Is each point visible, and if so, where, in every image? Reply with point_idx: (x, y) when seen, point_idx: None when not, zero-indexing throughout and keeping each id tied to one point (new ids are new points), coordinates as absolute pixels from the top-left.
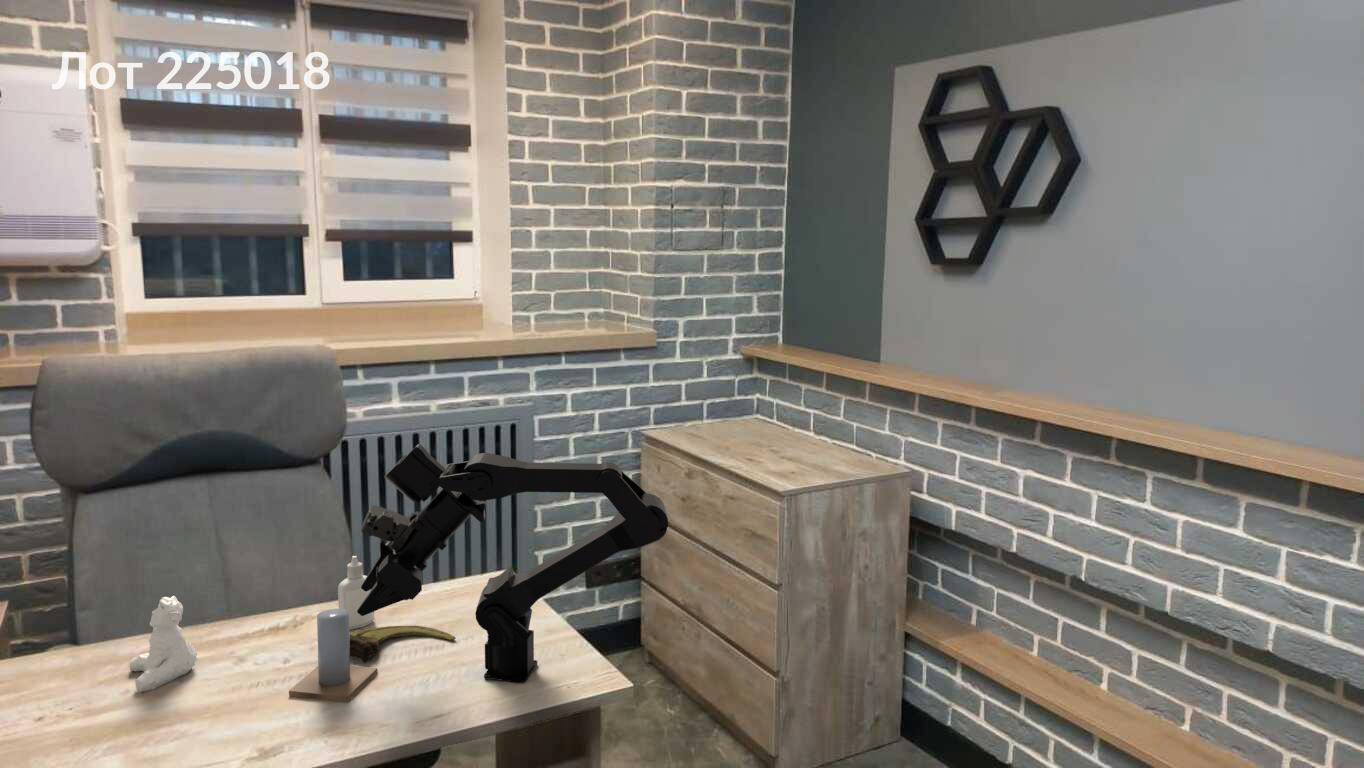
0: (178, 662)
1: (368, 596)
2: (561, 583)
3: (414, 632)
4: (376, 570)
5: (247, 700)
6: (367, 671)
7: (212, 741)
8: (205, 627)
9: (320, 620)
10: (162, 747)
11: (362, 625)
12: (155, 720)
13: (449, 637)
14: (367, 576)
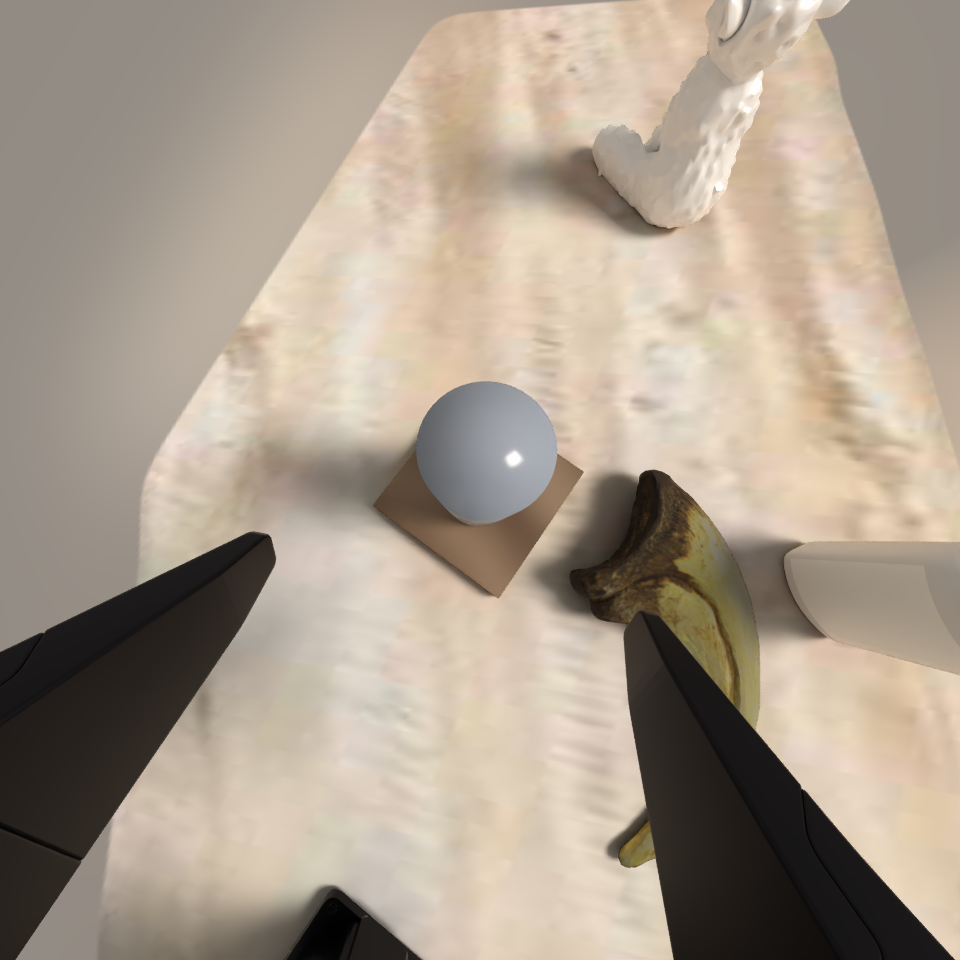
0: (646, 176)
1: (68, 620)
2: None
3: None
4: (715, 797)
5: (479, 320)
6: (488, 571)
7: (338, 258)
8: (881, 260)
9: (449, 392)
10: (358, 188)
11: (798, 602)
12: (467, 178)
13: (633, 848)
14: (693, 683)
